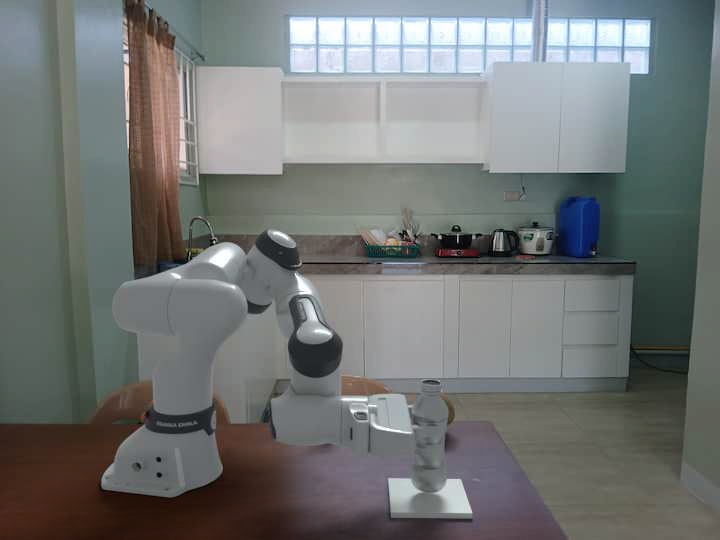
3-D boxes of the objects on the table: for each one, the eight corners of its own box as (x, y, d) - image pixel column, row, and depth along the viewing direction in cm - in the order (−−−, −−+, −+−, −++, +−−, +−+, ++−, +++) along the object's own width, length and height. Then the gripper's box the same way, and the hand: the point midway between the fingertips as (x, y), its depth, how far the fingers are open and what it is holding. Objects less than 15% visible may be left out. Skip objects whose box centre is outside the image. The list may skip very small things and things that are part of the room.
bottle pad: (391, 517, 100) (391, 512, 100) (388, 483, 112) (388, 478, 112) (472, 518, 100) (472, 513, 100) (460, 483, 112) (460, 479, 112)
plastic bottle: (449, 498, 103) (453, 388, 100) (410, 497, 103) (414, 388, 100) (444, 480, 109) (448, 377, 107) (408, 479, 109) (411, 376, 107)
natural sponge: (437, 422, 142) (438, 383, 141) (462, 435, 134) (463, 393, 133) (407, 430, 137) (408, 389, 136) (432, 444, 130) (433, 401, 128)
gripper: (357, 415, 115) (427, 416, 115) (357, 463, 95) (442, 464, 95) (358, 385, 114) (428, 386, 114) (358, 426, 94) (443, 427, 94)
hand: (435, 421), depth 104 cm, fingers closed on plastic bottle, 6 cm apart
